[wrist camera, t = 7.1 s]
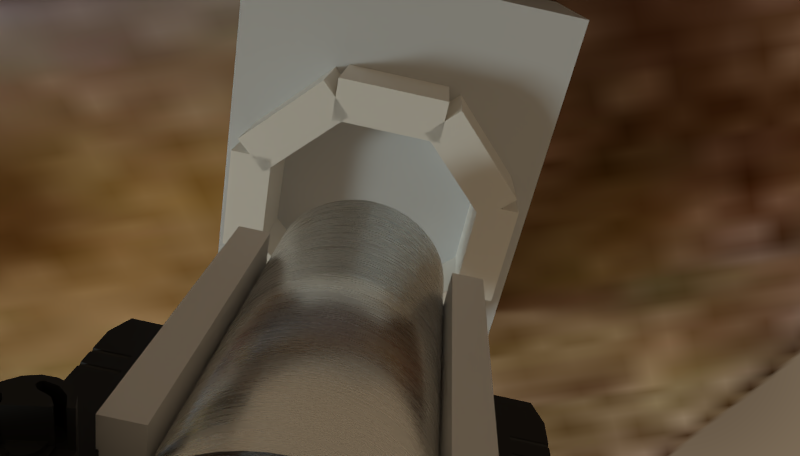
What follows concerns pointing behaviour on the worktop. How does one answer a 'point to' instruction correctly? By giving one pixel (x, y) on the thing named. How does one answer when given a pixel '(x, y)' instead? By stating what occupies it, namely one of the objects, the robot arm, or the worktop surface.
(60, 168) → the worktop surface
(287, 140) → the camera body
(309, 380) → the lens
